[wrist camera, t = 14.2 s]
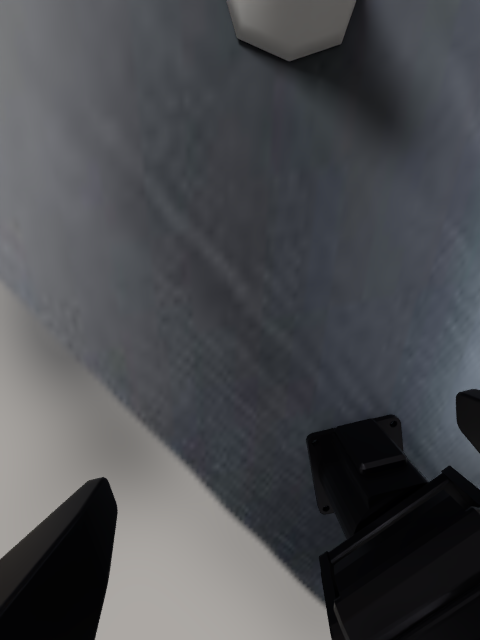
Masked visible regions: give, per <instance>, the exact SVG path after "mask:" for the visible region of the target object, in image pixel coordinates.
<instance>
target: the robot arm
mask: <svg viewBox="0 0 480 640" xmlns="http://www.w3.org/2000/svg"><path fill="white" fill-rule="evenodd" d="M456 415H457V424H458V427H459V428H460V430H461V432H462V433H463V434H464V435H465V436H466V438H467V439H468V440H469V441H470V442H471V444H472V445H473V446H474V447H475V448H476V450H477V451H478V452H479V453H480V390H477V389H471V390H467V391H463V392H459V393H458V394H457V396H456ZM392 421H394V422H393V423H392V424H390V423H391V422H392ZM313 440H317V441H316V442H314V443H312V441H313ZM306 442H307V448H308V454H309V460H310V465H311V471H312V477H313V482H314V488H315V494H316V500H317V505H318V508H319V511H320V513H322V514H330V513H334V512H335V515H336V517H337V519H338V521H339V523H340V525H341V528H342V530H343V532H344V534H345V536H346V539H347V540H346V541H344V542H343V543H341V544H340V545H339V546H337V547H336V548H334V549H333V550H331V551H330V552H328V551H326V552H325V553H323V554H322V555H321V556H319V561H320V567H321V577H322V583H323V590H324V596H325V602H326V608H327V615H328V621H329V627H330V633H331V638H332V640H480V490H479V489H478V488H477V487H475V486H474V485H473V484H472V483H471V482H469V481H468V480H467V479H466V478H464V477H463V476H462V475H461V474H459V473H458V472H457V471H456V470H455V469H453V468H452V467H451V466H448V467H446V468H445V469H444V470H442V471H441V472H442V474H440V475H439V476H437V477H436V478H435V479H433V480H432V481H430V482H428V481H427V480H426V478H425V477H424V476H423V475H422V474H421V473H420V472H419V471H418V469H417V468H416V467H415V466H414V465H413V464H412V463H411V462H410V460H409V459H408V458H407V456H406V455H405V453H404V452H403V443H402V432H401V422H400V420H399V419H398V418H397V417H396V416H395V415H386V416H382V417H378V418H374V419H367V420H363V421H358V422H354V423H350V424H346V425H342V426H338V427H336V428H332V429H327V430H323V431H319V432H315V433H311V434H309V435H308V436H307V438H306ZM324 506H326V507H324ZM116 520H117V504H116V501H115V498H114V495H113V493H112V490H111V488H110V484H109V482H108V480H107V479H106V478H104V477H102V478H97V479H93V480H89V481H87V482H86V483H85V484H84V485H83V486H82V487H80V488H79V489H78V490H77V491H76V492H75V493H74V494H73V495H72V496H70V497H69V498H68V499H67V500H66V501H65V502H64V503H63V504H61V505H60V506H59V507H58V508H57V509H56V510H55V511H54V512H53V513H51V514H50V515H49V516H48V517H47V518H46V519H45V520H44V521H43V522H41V523H40V524H39V525H38V526H37V527H36V528H35V529H34V530H32V531H31V532H30V533H29V534H28V535H27V536H26V537H25V538H24V539H22V540H21V541H20V542H19V543H18V544H17V545H16V546H15V547H13V548H12V549H11V550H10V551H9V552H8V553H7V554H6V555H5V556H3V558H1V559H0V640H95V636H96V632H97V628H98V623H99V619H100V615H101V610H102V606H103V602H104V598H105V593H106V589H107V584H108V578H109V572H110V566H111V558H112V551H113V543H114V535H115V528H116Z"/></svg>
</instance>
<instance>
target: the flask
mask: <svg viewBox="0 0 480 640" xmlns="http://www.w3.org/2000/svg"><path fill="white" fill-rule="evenodd" d="M226 1H227V5H228V8H229V12H230V16H231V19H232V23H233V26H234V30H235V34H236V37H237V38H238V39H240V40H242V41H244V42H247V43H249V44H251V45H253V46H256V47H258V48H260V49H262V50H265V51H267V52H269V53H271V54H273V55H276V56H278V57H280V58H282V59H285V60H287V61H292V60H295V59H298V58H301V57H304V56H307V55H310V54H313V53H316V52H319V51H322V50H325V49H328V48H331V47H334V46H337V45H340V44H341V43H342V40H343V38H344V35H345V32H346V29H347V26H348V23H349V20H350V17H351V15H352V12H353V9H354V6H355V3H356V0H226Z"/></svg>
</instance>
